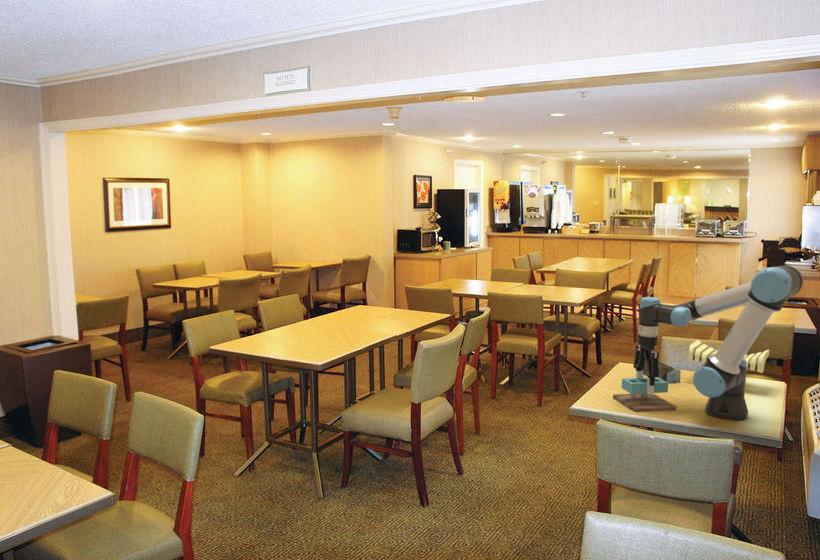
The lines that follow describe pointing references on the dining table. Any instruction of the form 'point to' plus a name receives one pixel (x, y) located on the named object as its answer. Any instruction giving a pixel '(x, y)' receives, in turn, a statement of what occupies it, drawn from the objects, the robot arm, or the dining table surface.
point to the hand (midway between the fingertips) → (644, 389)
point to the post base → (644, 402)
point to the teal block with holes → (643, 385)
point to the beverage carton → (665, 372)
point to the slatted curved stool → (703, 352)
